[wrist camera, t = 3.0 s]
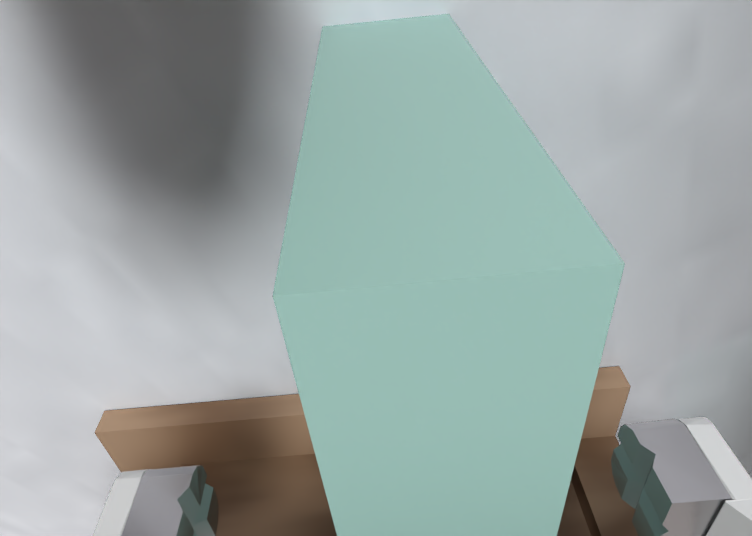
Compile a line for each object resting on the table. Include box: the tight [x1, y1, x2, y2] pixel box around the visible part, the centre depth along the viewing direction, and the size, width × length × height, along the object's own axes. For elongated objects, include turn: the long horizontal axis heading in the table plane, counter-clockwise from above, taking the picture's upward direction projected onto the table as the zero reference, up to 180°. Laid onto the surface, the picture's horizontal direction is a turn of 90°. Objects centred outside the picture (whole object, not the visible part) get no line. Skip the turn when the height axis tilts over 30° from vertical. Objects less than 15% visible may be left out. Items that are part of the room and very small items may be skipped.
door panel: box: [273, 14, 625, 536], centre depth 12 cm, size 12×3×10 cm, turn 5°
